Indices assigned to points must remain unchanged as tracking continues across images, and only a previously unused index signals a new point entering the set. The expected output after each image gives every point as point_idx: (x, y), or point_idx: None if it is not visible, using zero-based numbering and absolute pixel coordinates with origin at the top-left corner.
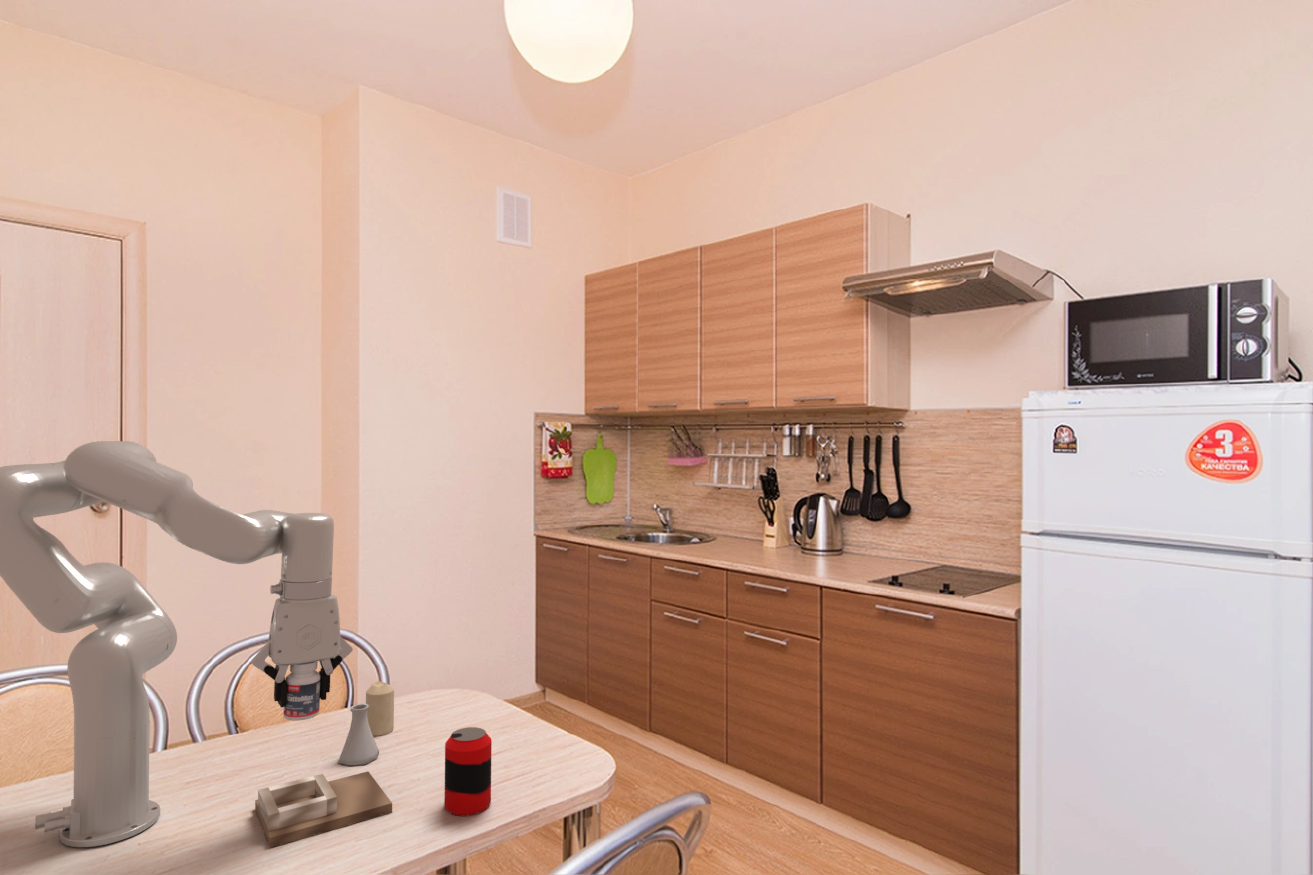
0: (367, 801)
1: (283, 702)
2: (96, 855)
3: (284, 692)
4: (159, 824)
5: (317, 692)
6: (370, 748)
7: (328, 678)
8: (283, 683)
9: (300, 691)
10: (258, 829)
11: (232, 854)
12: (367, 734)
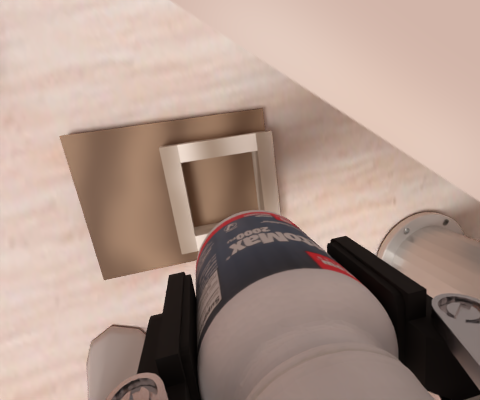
0: (107, 163)
1: (346, 242)
2: (431, 192)
3: (372, 264)
4: (375, 241)
5: (211, 278)
6: (96, 355)
7: (149, 366)
8: (417, 286)
9: (302, 253)
10: None
11: (303, 117)
12: (95, 381)
